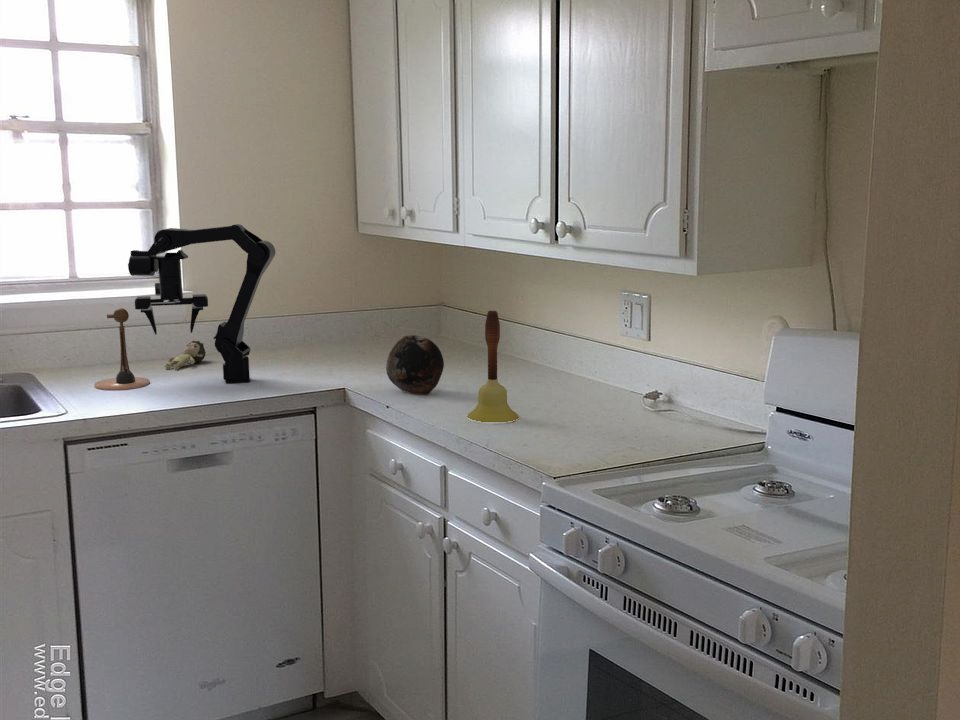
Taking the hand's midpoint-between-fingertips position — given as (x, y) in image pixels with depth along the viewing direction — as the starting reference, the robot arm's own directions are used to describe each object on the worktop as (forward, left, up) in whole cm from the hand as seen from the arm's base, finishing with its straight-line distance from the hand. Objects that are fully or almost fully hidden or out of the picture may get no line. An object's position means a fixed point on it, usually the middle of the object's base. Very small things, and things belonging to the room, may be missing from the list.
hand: (173, 333), depth 279 cm
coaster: (+14, +1, -13) cm, 19 cm away
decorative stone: (-60, +33, -13) cm, 70 cm away
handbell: (-71, +64, -13) cm, 96 cm away
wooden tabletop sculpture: (+14, +1, -13) cm, 19 cm away
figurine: (-3, -21, -13) cm, 25 cm away
